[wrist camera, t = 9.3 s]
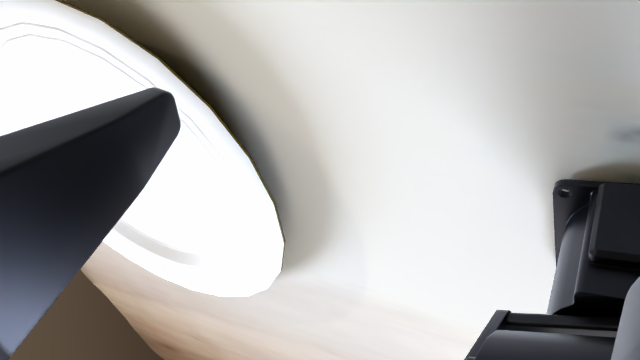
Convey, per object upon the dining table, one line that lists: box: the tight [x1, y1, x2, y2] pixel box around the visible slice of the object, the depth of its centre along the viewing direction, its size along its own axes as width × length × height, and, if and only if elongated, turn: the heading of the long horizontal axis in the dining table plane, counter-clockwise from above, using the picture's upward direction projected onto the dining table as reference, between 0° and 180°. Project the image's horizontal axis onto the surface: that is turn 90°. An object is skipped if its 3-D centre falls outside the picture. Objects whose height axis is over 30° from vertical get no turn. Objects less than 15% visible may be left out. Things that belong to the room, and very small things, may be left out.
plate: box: [0, 0, 285, 297], centre depth 39 cm, size 29×29×2 cm
